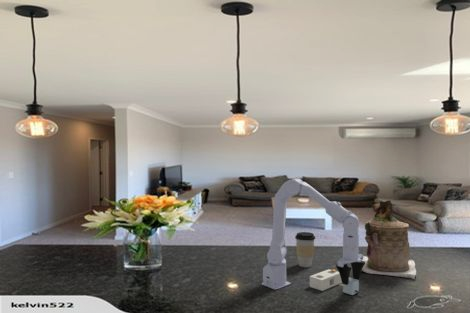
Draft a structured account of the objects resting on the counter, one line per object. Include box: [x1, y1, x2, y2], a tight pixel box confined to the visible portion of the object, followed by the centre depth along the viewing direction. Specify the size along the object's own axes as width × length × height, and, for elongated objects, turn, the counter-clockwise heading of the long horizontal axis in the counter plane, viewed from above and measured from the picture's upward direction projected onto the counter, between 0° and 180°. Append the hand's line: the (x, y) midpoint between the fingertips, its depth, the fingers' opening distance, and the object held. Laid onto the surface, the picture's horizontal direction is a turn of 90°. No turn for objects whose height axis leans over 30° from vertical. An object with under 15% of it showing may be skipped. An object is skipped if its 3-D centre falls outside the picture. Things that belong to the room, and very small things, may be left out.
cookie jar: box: [361, 199, 417, 280], centre depth 168 cm, size 25×25×32 cm
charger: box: [338, 276, 364, 296], centre depth 139 cm, size 9×4×5 cm, turn 41°
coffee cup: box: [294, 231, 316, 268], centre depth 173 cm, size 9×9×15 cm
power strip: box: [309, 268, 342, 292], centre depth 150 cm, size 6×18×5 cm, turn 131°
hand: (350, 281), depth 139 cm, fingers open, 7 cm apart
